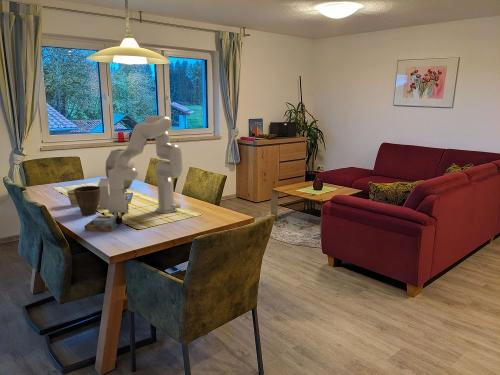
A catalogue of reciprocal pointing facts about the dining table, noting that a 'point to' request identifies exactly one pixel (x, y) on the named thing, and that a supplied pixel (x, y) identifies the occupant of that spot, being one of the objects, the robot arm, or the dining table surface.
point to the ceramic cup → (72, 198)
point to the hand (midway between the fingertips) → (119, 223)
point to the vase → (112, 160)
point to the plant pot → (87, 199)
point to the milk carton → (104, 192)
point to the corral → (98, 226)
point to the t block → (105, 221)
